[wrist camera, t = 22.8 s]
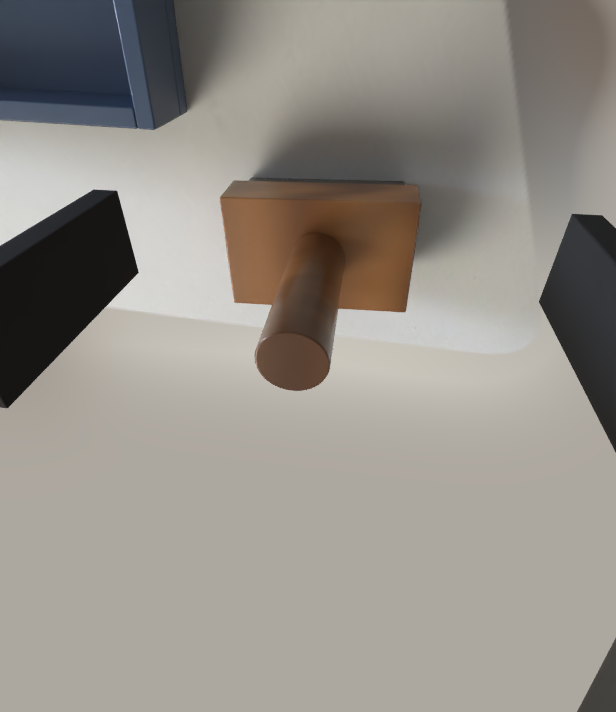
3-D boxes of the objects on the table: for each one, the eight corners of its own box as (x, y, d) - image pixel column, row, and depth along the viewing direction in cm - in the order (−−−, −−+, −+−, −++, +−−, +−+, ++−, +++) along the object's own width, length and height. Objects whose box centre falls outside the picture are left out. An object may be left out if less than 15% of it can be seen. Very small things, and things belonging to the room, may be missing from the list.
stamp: (416, 175, 22) (441, 299, 13) (402, 275, 25) (415, 430, 16) (240, 171, 23) (145, 283, 14) (251, 268, 26) (180, 410, 17)
